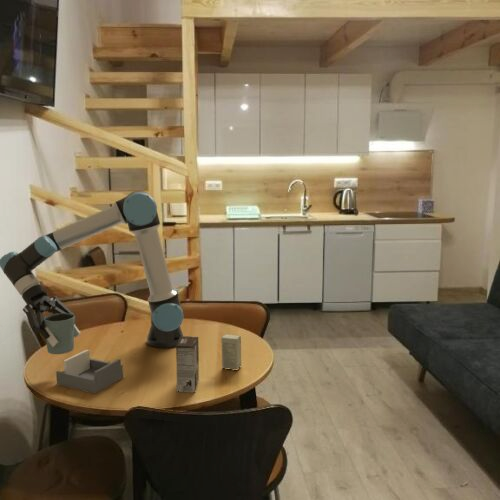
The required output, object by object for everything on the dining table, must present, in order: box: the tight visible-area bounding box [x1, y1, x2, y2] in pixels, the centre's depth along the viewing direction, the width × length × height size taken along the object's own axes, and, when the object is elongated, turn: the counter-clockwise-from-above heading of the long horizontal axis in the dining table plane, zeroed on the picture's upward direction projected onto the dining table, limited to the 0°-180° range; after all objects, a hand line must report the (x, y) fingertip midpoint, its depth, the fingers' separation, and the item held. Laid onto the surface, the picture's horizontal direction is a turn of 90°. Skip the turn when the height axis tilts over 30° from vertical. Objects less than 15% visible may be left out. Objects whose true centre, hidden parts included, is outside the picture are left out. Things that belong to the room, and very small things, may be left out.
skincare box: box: [221, 333, 242, 369], centre depth 177 cm, size 6×4×12 cm
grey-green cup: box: [44, 313, 76, 355], centre depth 168 cm, size 10×10×12 cm
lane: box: [55, 357, 124, 395], centre depth 165 cm, size 16×14×7 cm
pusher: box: [62, 349, 90, 375], centre depth 167 cm, size 1×11×7 cm, turn 156°
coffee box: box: [175, 335, 200, 393], centre depth 161 cm, size 9×6×16 cm
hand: (67, 339), depth 167 cm, fingers closed on grey-green cup, 10 cm apart
